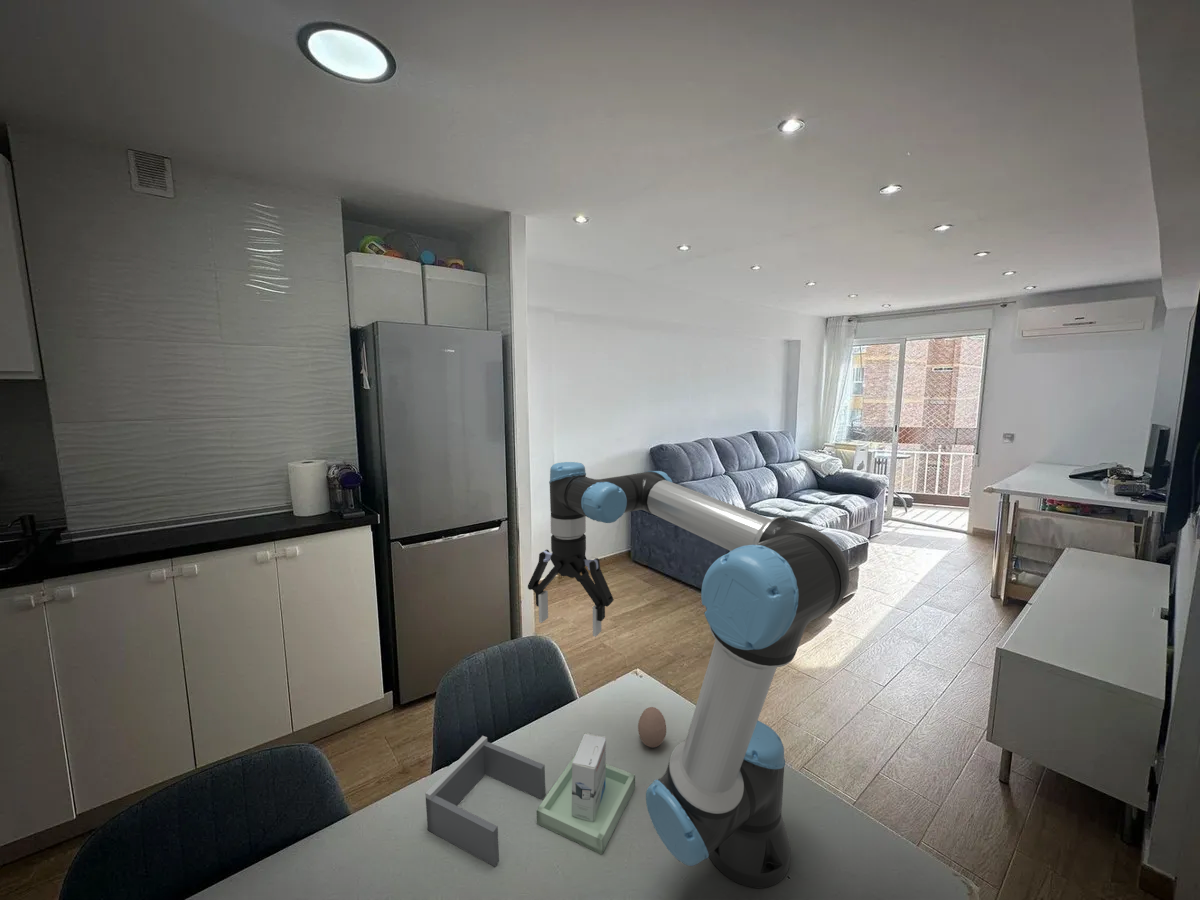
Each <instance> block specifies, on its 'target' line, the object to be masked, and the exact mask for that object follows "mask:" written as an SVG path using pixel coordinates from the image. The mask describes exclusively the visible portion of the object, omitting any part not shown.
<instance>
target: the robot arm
mask: <svg viewBox="0 0 1200 900" xmlns="http://www.w3.org/2000/svg"><path fill="white" fill-rule="evenodd" d="M668 475H669V474H667V473H666V472H664V471H661V470H648V471H644V472H643V471H642V472H638V473H632V474H626V475H621V476H618V475H617V476H614V477H605V478H601V479H597V478H592V477H588V476H587V473H586V467H585V465H584V464H583V463H581V462H578V461H577V462H575V461H563V462H561V461H560V462H557V463H554V464H552V465H551V466H550V471H549V482H548V483H549V503H550V504H549V507H550V510H549V511H550V534H551V536H550V550H551V551H549V549H545V550H543V551H541V552H540V553H539V554H538V563H537V565H536V567H535V568H534V572H533V574H532V575H531V578H530V580H529V581H528V584H527V589H528V590H529V591H531V590H532V591H533V592H534V593H535V605H536V607H538V622H539V623H541V624H542V623H544V622H545V621H547V620H548V618H549V593H548V592H549V591H548V590H545V589H546V588H547V587H548V586H549V584H550V583H551V582H552V581H553V580H554V578H556V576H558V574H559V575H560V576H561V577H568V578H572V579H575V580H576V581H577V582H578V583H580V585H581V587H583V589H584V590H585V592H586V593H587V595H588V596H589V598H590V599H591V600H592V602H593V603H594V606H593V607H592V636H593V637H595V638H596V637H597V636H599V634H600V633H601V632H602V622H603V620H604V619H605V617H606V607H609V606H610V605H611V604H612V603H613V602H614V597H613V595H612V592H611V590H610V588H609V586H608V583H607V581H606V578H605V576H604V574H603V571H602V569H601V564H600V563H601V562H600V559H599V558H598V557H596V558H594V559H587V556H586V551H587V536H586V534H585V533H586V531H587V529H586V525H587V524H586V522H587V521H586V518H588V519H590V520H592V521H596V522H597V523H598V522H599V523H604V524H612V523H615V522H616V521H618V520H619V519H620V518H622V516H623V515H624V514H626V513H630V512H634V511H645V512H647V513H649V514H651V515H654V516H657V517H658V518H661V519H663V520H664V521H667V522H669V523H671V524H673V525H675V526H677V527H679V528H681V529H683V530H685V531H688V532H690V533H691V534H694V535H697V537H700V538H703V539H704V540H707V541H709V542H710V543H713V544H714V545H717V546H719V547H722V548H723V549H726V550H727V551H729V552H728V553H726V554H724V555H722V556H719V557H718V558H717V559H716V560H715V561H714V562H713V563H712V564H710V566H709V568H708V569H707V571H706V572H705V575H704V576H703V577H704V578H703V580H702V585H701V592H700V595H701V597H700V598H701V604H702V606H704V607H705V609H706V610H705V612H704V617H705V619H706V621H707V623H708V626H709V630H710V633H711V635H712V637H713V638H714V643H713V647H712V650H711V654H710V657H709V661H708V664H707V667H706V671H705V674H704V678H703V681H702V684H701V687H700V692H699V694H698V698H697V702H696V705H695V708H694V711H693V716H692V719H691V722H690V726H689V729H688V732H687V735H686V738H685V740H683V741H681V742H680V743H679V742H678V744H677V745H676V746H675V747H674V748H673V751H672V752H671V754H670V758H669V761H668V764H667V768H666V771H665V773H664V774H663V775H662V776H661V777H659V778H658V779H654V780H653V782H652V783H651V784H649V786H648V788H647V789H646V791H645V801H646V807H647V812H648V815H649V818H650V820H651V823H652V825H653V828H654V830H655V832H656V834H657V836H658V837H659V838H660V841H661V842H662V844H664V847H666V849H667V850H668V851H669V853H670V854H671V855H672V856H673V857H674V858H675V859H676V860H677V861H679V862H681V863H682V864H684V865H686V866H687V867H689V866H690V867H693V866H697V865H698V864H699V863H701V862H702V861H704V860H707V859H708V858H709V859H710V861H711V862H712V864H713V865H714V866H715V868H716V869H718V871H719V872H720V873H722V874H723V875H724V876H725V877H726V878H728V879H730V880H731V881H733V882H734V883H737V884H740V885H742V886H744V887H749V888H756V889H761V888H762V889H763V888H769V887H772V886H774V885H776V884H778V883H779V882H781V881H782V880H783V879H784V878H785V876H786V875H787V873H788V871H789V869H790V863H791V843H790V838H789V834H788V831H787V828H786V826H785V823H784V819H783V816H782V809H783V792H784V777H785V776H784V775H785V773H784V772H785V765H786V759H785V747H784V744H783V741H782V739H781V737H780V736H779V734H778V733H777V732H776V731H775V730H774V729H773V728H772V727H770V726H768V725H767V724H766V723H764V722H762V721H760V720H759V719H760V718H759V717H760V714H761V712H762V710H763V707H764V704H765V700H766V698H767V695H768V693H769V691H770V687H771V684H772V683H773V682H772V681H773V679H774V676H775V673H776V671H777V668H781V667H782V668H783V667H785V666H786V665H789V664H790V663H791V662H792V661H793V660H794V658H795V656H796V654H797V652H798V651H797V650H798V649H799V646H800V642H801V640H802V637H803V635H804V633H805V629H806V627H807V626H808V625H809V624H810V622H811V621H813V620H815V619H817V618H819V617H821V616H822V615H824V614H826V613H828V612H830V611H831V610H833V609H835V608H836V607H838V605H839V604H840V603H841V602H842V600H843V599H844V597H845V596H846V594H847V591H848V588H849V586H850V569H849V565H848V561H847V558H846V556H845V555H844V553H843V551H842V550H841V548H840V547H839V546H838V545H837V544H836V542H835V541H833V540H832V539H831V538H830V537H829V536H827V535H826V534H824V533H822V532H821V531H820V530H818V529H815V528H812V527H811V526H808V525H806V524H804V523H801V522H799V521H798V522H797V521H795V520H792V519H790V518H787V517H783V516H777V517H774V518H772V519H771V518H769V517H765V516H763V515H762V514H761V515H760V514H757V513H755V512H752V511H749V510H747V509H745V508H742V507H739V506H738V505H737V506H736V505H734V504H731V503H728V502H726V501H723V500H720V499H719V498H716V497H713V496H710V495H707V494H705V493H701V492H699V491H697V490H693V489H691V488H688V487H686V486H682V485H680V484H678V483H676V482H675V483H674V482H673V480H672V478H671V477H670V476H668ZM550 561H551V563H552V565H553V568H551V570H550V571H549V572H548V573H547V575H546V576H545V577H544V578H543V579H542V576H543V574H544V572H545V570H546V567H547V565H548V564H549V562H550ZM586 567H587V569H586ZM589 572H590V573H589ZM590 576H591V577H590ZM541 579H542V581H540V580H541Z"/></svg>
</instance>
